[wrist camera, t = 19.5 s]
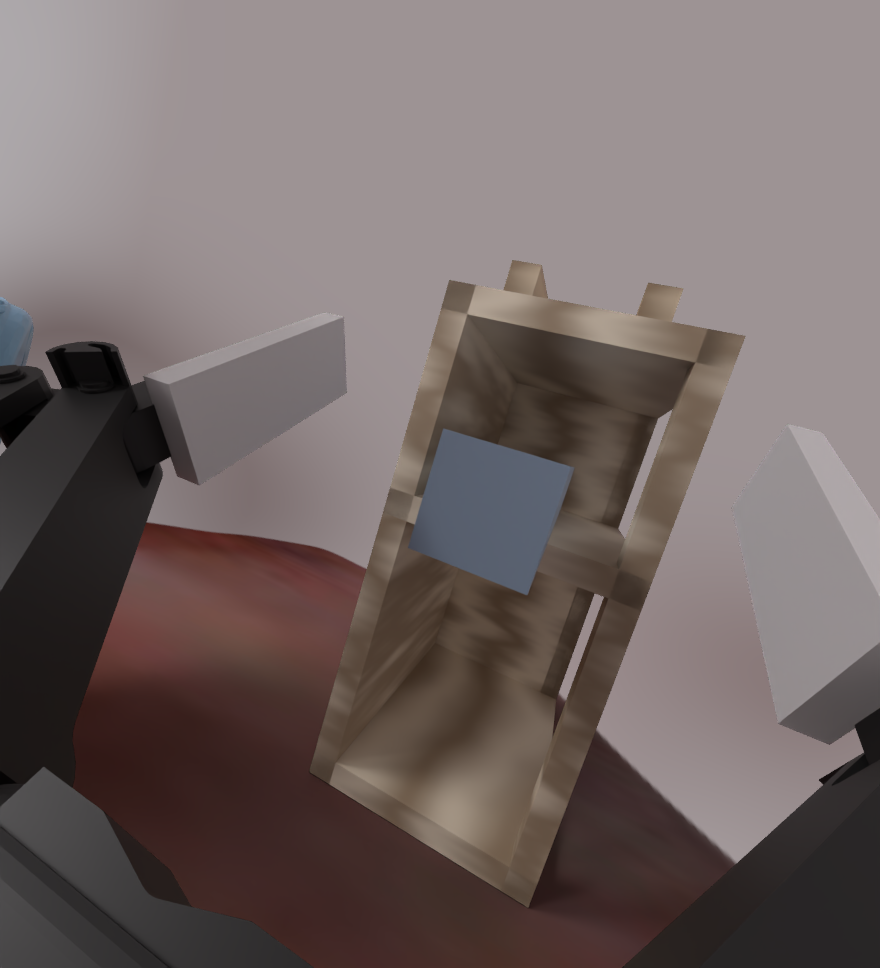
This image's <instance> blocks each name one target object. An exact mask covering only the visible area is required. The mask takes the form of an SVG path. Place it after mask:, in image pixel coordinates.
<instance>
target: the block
mask: <svg viewBox="0 0 880 968" xmlns="http://www.w3.org/2000/svg"><path fill="white" fill-rule="evenodd" d="M574 469H575V468H574V467H571V466H567V465H564V464H561V463H557V462H554V461H551V460H547V459H544V458H541V457H537V456H534V455H531V454H527V453H524V452H521V451H517V450H514V449H511V448H507V447H504V446H501V445H497V444H494V443H491V442H487V441H484V440H481V439H477V438H474V437H470V436H467V435H464V434H460V433H457V432H454V431H450V430H447V429H444V428H443V431H442V434H441V438H440V441H439V444H438V448H437V451H436V455H435V458H434V461H433V465H432V468H431V471H430V475H429V478H428V482H427V485H426V488H425V492H424V495H423V498H422V502H421V505H420V508H419V512H418V515H417V519H416V522H415V525H414V529H413V532H412V535H411V539H410V542H409V546H408V548H410V549H412V550H415V551H417V552H420V553H422V554H425V555H427V556H430V557H432V558H435V559H437V560H440V561H442V562H445V563H447V564H450V565H452V566H455V567H457V568H460V569H462V570H465V571H467V572H470V573H472V574H475V575H477V576H480V577H482V578H485V579H487V580H490V581H492V582H495V583H497V584H500V585H502V586H505V587H507V588H510V589H512V590H515V591H517V592H520V593H522V594H525V595H528V592H529V589H530V587H531V584H532V582H533V579H534V577H535V574H536V571H537V569H538V566H539V564H540V561H541V559H542V556H543V553H544V551H545V548H546V546H547V543H548V541H549V538H550V535H551V533H552V530H553V528H554V525H555V523H556V520H557V517H558V515H559V512H560V510H561V507H562V504H563V501H564V498H565V495H566V492H567V489H568V486H569V483H570V480H571V477H572V474H573V472H574Z"/></svg>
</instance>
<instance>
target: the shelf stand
mask: <svg viewBox="0 0 880 968" xmlns="http://www.w3.org/2000/svg"><path fill="white" fill-rule="evenodd" d="M682 291H683V288H677V287H671V286H665V285H659V284H652V283H648V285H647V288H646V290H645V293H644V296H643V299H642V301H641V304H640V307H639V309H638V312H637V315H632V314H626V313H620V312H615V311H610V310H605V309H599V308H594V307H589V306H584V305H578V304H573V303H568V302H562V301H557V300H552V299H548V296H547V291H546V285H545V280H544V275H543V269H542V265H539V264H533V263H527V262H521V261H514V260H512V264H511V267H510V270H509V274H508V277H507V281H506V284H505V287H504V290H499V289H494V288H489V287H483V286H478V285H473V284H467V283H462V282H457V281H451V280H449V283H448V287H447V290H446V294H445V297H444V301H443V304H442V308H441V311H440V315H439V319H438V322H437V325H436V329H435V332H434V336H433V339H432V343H431V346H430V350H429V353H428V357H427V360H426V364H425V367H424V371H423V374H422V378H421V382H420V385H419V388H418V392H417V395H416V400H415V402H414V406H413V410H412V413H411V416H410V420H409V423H408V427H407V430H406V434H405V438H404V441H403V444H402V448H401V451H400V455H399V458H398V462H397V465H396V469H395V472H394V476H393V479H392V483H391V486H390V490H389V493H388V497H387V501H386V504H385V507H384V511H383V515H382V518H381V522H380V525H379V529H378V533H377V536H376V539H375V543H374V546H373V550H372V553H371V557H370V560H369V564H368V567H367V571H366V574H365V578H364V581H363V585H362V588H361V592H360V595H359V599H358V602H357V606H356V609H355V613H354V616H353V620H352V623H351V627H350V630H349V634H348V637H347V641H346V644H345V648H344V651H343V655H342V658H341V662H340V665H339V669H338V672H337V676H336V679H335V683H334V686H333V690H332V693H331V697H330V700H329V704H328V707H327V711H326V714H325V718H324V721H323V725H322V728H321V732H320V735H319V739H318V742H317V746H316V749H315V753H314V756H313V760H312V763H311V767H310V770H309V772H310V773H312V774H313V775H315V776H317V777H318V778H320V779H321V780H323V781H325V782H326V783H328V784H329V785H331V786H333V787H334V788H336V789H338V790H339V791H341V792H342V793H344V794H346V795H347V796H349V797H350V798H352V799H354V800H355V801H357V802H358V803H360V804H362V805H363V806H365V807H367V808H368V809H370V810H371V811H373V812H375V813H376V814H378V815H379V816H381V817H383V818H384V819H386V820H387V821H389V822H391V823H392V824H394V825H395V826H397V827H399V828H400V829H402V830H404V831H405V832H407V833H408V834H410V835H412V836H413V837H415V838H416V839H418V840H420V841H421V842H423V843H424V844H426V845H428V846H429V847H431V848H433V849H434V850H436V851H437V852H439V853H441V854H442V855H444V856H445V857H447V858H449V859H450V860H452V861H453V862H455V863H457V864H458V865H460V866H462V867H463V868H465V869H466V870H468V871H470V872H471V873H473V874H474V875H476V876H478V877H479V878H481V879H482V880H484V881H486V882H487V883H489V884H490V885H492V886H494V887H495V888H497V889H499V890H500V891H502V892H503V893H505V894H507V895H508V896H510V897H511V898H513V899H515V900H516V901H518V902H519V903H521V904H523V905H524V906H526V907H529V905H530V902H531V899H532V897H533V894H534V891H535V889H536V886H537V884H538V881H539V878H540V876H541V873H542V870H543V868H544V865H545V862H546V860H547V857H548V855H549V852H550V849H551V847H552V844H553V841H554V839H555V836H556V834H557V831H558V828H559V826H560V823H561V820H562V818H563V815H564V812H565V810H566V807H567V805H568V802H569V799H570V797H571V794H572V791H573V789H574V786H575V784H576V781H577V778H578V776H579V773H580V770H581V768H582V765H583V762H584V760H585V757H586V755H587V752H588V749H589V747H590V744H591V741H592V739H593V736H594V734H595V731H596V728H597V726H598V723H599V720H600V718H601V715H602V712H603V710H604V707H605V705H606V702H607V699H608V697H609V694H610V691H611V689H612V686H613V684H614V681H615V678H616V676H617V673H618V670H619V667H620V665H621V662H622V660H623V657H624V655H625V652H626V649H627V646H628V644H629V641H630V639H631V636H632V633H633V631H634V628H635V626H636V623H637V620H638V618H639V615H640V612H641V610H642V607H643V604H644V602H645V599H646V597H647V594H648V591H649V589H650V586H651V584H652V581H653V578H654V576H655V573H656V570H657V568H658V565H659V562H660V560H661V557H662V554H663V552H664V549H665V547H666V544H667V541H668V539H669V536H670V533H671V531H672V528H673V526H674V523H675V520H676V518H677V515H678V512H679V510H680V507H681V504H682V502H683V499H684V496H685V494H686V491H687V489H688V486H689V484H690V481H691V478H692V476H693V473H694V470H695V468H696V465H697V462H698V460H699V457H700V455H701V452H702V449H703V447H704V444H705V441H706V439H707V436H708V434H709V431H710V428H711V426H712V423H713V420H714V418H715V415H716V412H717V410H718V407H719V405H720V402H721V399H722V396H723V394H724V391H725V389H726V386H727V383H728V381H729V378H730V376H731V373H732V370H733V368H734V365H735V362H736V360H737V357H738V355H739V352H740V349H741V346H742V344H743V341H744V339H745V336H743V335H737V334H732V333H727V332H722V331H716V330H711V329H706V328H700V327H695V326H690V325H684V324H679V323H674V322H672V319H673V317H674V314H675V311H676V308H677V305H678V302H679V300H680V297H681V294H682ZM672 409H673V410H672ZM670 410H672V413H671V416H670V418H669V421H668V424H667V427H666V429H665V432H664V435H663V438H662V440H661V443H660V446H659V449H658V451H657V454H656V457H655V459H654V462H653V465H652V468H651V471H650V473H649V476H648V479H647V481H646V484H645V487H644V489H643V492H642V495H641V498H640V500H639V503H638V506H637V509H636V511H635V515H634V517H633V519H632V522H631V525H630V528H629V531H628V533H627V536H626V539H624V537H623V535H622V534H621V532H620V531H619V529H618V527H619V525H620V522H621V519H622V516H623V514H624V511H625V508H626V505H627V502H628V500H629V497H630V494H631V491H632V489H633V486H634V483H635V481H636V478H637V475H638V472H639V469H640V467H641V464H642V461H643V458H644V456H645V453H646V450H647V447H648V445H649V442H650V439H651V436H652V434H653V431H654V428H655V425H656V423H657V420H658V418H659V417H661V416H663V415H664V414H666V413H667V412H669V411H670ZM443 428H444V429H447V430H450V431H454V432H457V433H460V434H464V435H467V436H470V437H474V438H477V439H481V440H484V441H487V442H491V443H494V444H497V445H501V446H504V447H507V448H511V449H514V450H517V451H521V452H524V453H527V454H531V455H534V456H537V457H541V458H544V459H547V460H551V461H554V462H557V463H561V464H564V465H567V466H571V467H574V468H575V469H574V472H573V474H572V477H571V480H570V483H569V486H568V489H567V492H566V495H565V498H564V501H563V504H562V507H561V510H560V512H559V515H558V517H557V520H556V523H555V525H554V528H553V530H552V533H551V535H550V538H549V541H548V543H547V546H546V548H545V551H544V553H543V556H542V559H541V561H540V564H539V566H538V569H537V571H536V574H535V577H534V579H533V582H532V584H531V587H530V589H529V592H528V595H525V594H522V593H520V592H517V591H515V590H512V589H510V588H507V587H505V586H502V585H500V584H497V583H495V582H492V581H490V580H487V579H485V578H482V577H480V576H477V575H475V574H472V573H470V572H467V571H465V570H462V569H460V568H457V567H455V566H452V565H450V564H447V563H445V562H442V561H440V560H437V559H435V558H432V557H430V556H427V555H425V554H422V553H420V552H417V551H415V550H412V549H410V548H408V546H409V542H410V539H411V535H412V532H413V529H414V525H415V522H416V519H417V515H418V512H419V508H420V505H421V502H422V498H423V495H424V492H425V488H426V485H427V482H428V478H429V475H430V471H431V468H432V465H433V461H434V458H435V455H436V451H437V448H438V444H439V441H440V438H441V434H442V431H443ZM594 594H598V595H601V596H603V597H604V599H603V601H602V604H601V607H600V610H599V612H598V615H597V618H596V621H595V623H594V626H593V629H592V631H591V634H590V637H589V640H588V643H587V645H586V648H585V651H584V653H583V656H582V659H581V662H580V664H579V667H578V670H577V672H576V675H575V678H574V681H573V683H572V686H571V689H570V692H569V694H568V697H567V700H566V702H565V705H564V708H563V711H562V713H561V716H560V719H559V722H558V724H557V727H556V730H555V733H554V735H553V726H554V716H555V706H556V699H557V696H558V693H559V690H560V687H561V685H562V682H563V679H564V676H565V674H566V671H567V668H568V665H569V663H570V660H571V657H572V654H573V652H574V649H575V646H576V643H577V641H578V638H579V635H580V632H581V630H582V627H583V624H584V621H585V619H586V615H587V613H588V610H589V607H590V605H591V602H592V599H593V596H594ZM552 735H553V738H552Z"/></svg>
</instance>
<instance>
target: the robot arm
mask: <svg viewBox="0 0 880 968" xmlns="http://www.w3.org/2000/svg"><path fill="white" fill-rule="evenodd" d="M32 337H33V322H32V318H31V316H30V315H29V314H28V313H27V312H26V311H25V310H24V309H21V308H19V307H17V306H15V305H12V304H10V303H9V302H8V301H6V300H5V299H4V298H2V297H0V443H1V440H2V441H3V443H4V445H5V446H6V448H7V449H6V450H5V451H4V452H3V453H2V455H1V456H0V968H313V967H312V966H311V965H309V964H308V963H307V962H305V961H304V960H303V959H301V958H300V957H299V956H297V955H296V954H295V953H293V952H292V951H291V950H289V949H288V948H287V947H285V946H284V945H283V944H281V943H280V942H279V941H277V940H276V939H275V938H273V937H272V936H270V935H269V934H268V933H266V932H265V931H264V930H262V929H261V928H260V927H258V926H257V925H256V924H254V923H253V922H251V921H247V920H243V919H239V918H235V917H231V916H227V915H222V914H218V913H214V912H210V911H206V910H202V909H198V908H194V907H191V905H190V903H189V902H188V900H187V898H186V896H185V895H184V893H183V891H182V889H181V888H180V886H179V884H178V882H177V881H176V879H175V877H174V875H173V874H172V872H171V870H169V869H168V868H167V867H166V866H165V865H164V864H163V863H161V862H160V861H159V860H158V859H157V858H156V857H155V856H154V855H152V854H151V853H150V852H149V851H148V850H147V849H146V848H144V847H143V846H142V845H141V844H140V843H139V842H138V841H137V840H135V839H134V838H133V837H132V836H131V835H130V834H129V833H127V832H126V831H125V830H124V829H123V828H122V827H121V826H120V825H118V824H117V823H116V822H115V821H114V820H113V819H112V818H110V817H109V816H108V815H107V814H106V813H105V812H104V811H102V810H101V809H100V808H98V807H97V806H96V805H94V804H93V803H92V802H90V801H89V800H88V799H86V798H85V797H84V796H82V795H81V794H80V793H78V792H77V791H76V790H74V789H73V788H72V787H73V782H74V778H75V763H76V761H75V755H74V748H73V742H72V738H73V729H74V725H75V721H76V718H77V715H78V712H79V710H80V707H81V704H82V701H83V698H84V696H85V693H86V690H87V687H88V684H89V681H90V679H91V676H92V673H93V670H94V667H95V665H96V662H97V659H98V656H99V653H100V651H101V648H102V645H103V642H104V639H105V637H106V634H107V631H108V628H109V625H110V623H111V620H112V617H113V614H114V611H115V608H116V606H117V603H118V600H119V597H120V594H121V592H122V589H123V586H124V583H125V580H126V578H127V575H128V572H129V569H130V566H131V564H132V561H133V558H134V555H135V552H136V550H137V547H138V544H139V541H140V538H141V535H142V533H143V530H144V527H145V524H146V521H147V518H148V516H149V513H150V510H151V507H152V504H153V502H154V499H155V496H156V493H157V491H158V488H159V485H160V482H161V479H162V476H163V472H162V468H161V466H160V462H161V461H163V460H165V459H167V458H169V457H171V459H172V462H173V465H174V468H175V471H176V474H177V476H178V477H180V478H183V479H185V480H188V481H190V482H193V483H195V484H197V485H201V484H203V483H204V482H206V481H207V480H209V479H210V478H212V477H214V476H215V475H217V474H219V473H220V472H222V471H223V470H225V469H227V468H228V467H230V466H231V465H233V464H234V463H236V462H238V461H239V460H241V459H242V458H244V457H246V456H247V455H249V454H250V453H252V452H254V451H255V450H257V449H258V448H260V447H262V446H263V445H265V444H266V443H268V442H269V441H271V440H273V439H274V438H276V437H277V436H279V435H281V434H282V433H284V432H285V431H287V430H289V429H290V428H292V427H293V426H295V425H297V424H298V423H300V422H301V421H303V420H304V419H306V418H308V417H309V416H311V415H312V414H314V413H315V412H317V411H319V410H320V409H322V408H324V407H325V406H327V405H328V404H330V403H332V402H333V401H335V400H336V399H338V398H339V397H341V396H343V395H344V394H346V393H347V388H346V361H345V337H344V317H342V316H338V315H334V314H330V313H326V312H324V313H321V314H318V315H315V316H313V317H310V318H307V319H304V320H301V321H298V322H295V323H293V324H290V325H287V326H284V327H281V328H278V329H275V330H273V331H270V332H267V333H264V334H261V335H258V336H255V337H252V338H250V339H247V340H244V341H241V342H238V343H235V344H233V345H230V346H227V347H224V348H221V349H218V350H216V351H212V352H210V353H207V354H204V355H201V356H198V357H195V358H192V359H190V360H187V361H184V362H181V363H178V364H175V365H172V366H169V367H167V368H164V369H161V370H158V371H155V372H152V373H149V374H147V375H144V376H143V377H144V380H145V381H143V382H140V383H137V384H134V385H132V386H131V383H130V380H129V378H128V375H127V372H126V369H125V367H124V364H123V361H122V358H121V355H120V353H119V350H118V347H116V346H115V345H113V344H110V343H106V342H93V341H90V342H76V343H70V344H65V345H61V346H57V347H55V348H52V349H50V350H48V351H46V355H47V357H48V359H49V361H50V363H51V365H52V367H53V369H54V372H55V374H56V376H57V378H58V380H59V382H60V384H61V387H62V388H61V389H60V390H59V389H51V387H50V385H49V383H48V381H47V379H46V377H45V375H44V373H43V371H42V370H40V369H38V368H36V367H30V366H26V362H27V358H28V354H29V350H30V346H31V342H32ZM732 512H733V516H734V520H735V526H736V530H737V535H738V539H739V544H740V549H741V553H742V558H743V562H744V567H745V572H746V577H747V581H748V586H749V591H750V595H751V600H752V605H753V609H754V614H755V618H756V623H757V628H758V632H759V637H760V642H761V646H762V651H763V656H764V660H765V665H766V669H767V674H768V679H769V683H770V688H771V693H772V697H773V701H774V707H775V711H776V716H777V721H778V724H780V725H783V726H785V727H788V728H790V729H793V730H795V731H797V732H800V733H803V734H805V735H807V736H810V737H812V738H814V739H817V740H819V741H822V742H824V743H827V744H829V745H830V744H832V743H833V742H834V741H836V740H838V739H839V738H841V737H842V736H844V735H845V734H846V733H848V732H850V731H851V730H853V729H854V728H856V731H857V733H858V736H859V739H860V742H861V745H862V747H863V750H864V753H862V754H861V755H859V756H858V757H856V758H854V759H852V760H851V761H849V762H847V763H846V764H844V765H842V766H841V767H839V768H838V769H836V770H834V771H833V772H831V773H829V774H828V775H826V776H824V777H823V778H821V779H819V781H820V782H821V783H822V784H823V786H822V787H821V788H819V789H818V790H817V791H816V792H815V793H814V794H813V795H812V796H811V797H809V798H808V799H807V800H806V801H805V802H804V803H803V804H802V805H801V806H800V807H798V808H797V809H796V810H795V811H794V812H793V813H792V814H791V815H790V816H789V817H787V819H785V820H784V821H783V822H782V823H781V824H780V825H779V826H778V827H776V828H775V829H774V830H773V831H772V832H771V833H770V834H769V835H768V836H767V837H765V838H764V839H763V840H762V841H761V842H760V843H759V844H758V845H757V846H755V847H754V848H753V849H752V850H751V851H750V852H749V853H748V854H747V855H746V856H744V857H743V858H742V859H741V860H740V861H739V862H738V863H737V864H736V865H735V866H733V867H732V868H731V869H730V870H729V871H728V872H727V873H726V874H725V875H724V876H722V877H721V878H720V879H719V880H718V881H717V882H716V883H715V884H714V885H713V886H711V887H710V888H709V889H708V890H707V891H706V892H705V893H704V894H703V895H702V896H700V897H699V898H698V899H697V900H696V901H695V902H694V903H693V904H692V905H691V906H689V907H688V908H687V909H686V910H685V911H684V912H683V913H682V914H681V915H680V916H678V917H677V918H676V919H675V920H674V921H673V922H672V923H671V924H670V925H669V926H667V927H666V928H665V929H664V930H663V931H662V932H661V933H660V934H659V935H658V936H656V937H655V938H654V939H653V940H652V941H651V942H650V943H649V944H648V945H647V946H645V947H644V948H643V949H642V950H641V951H640V952H639V953H638V954H637V955H636V956H634V957H633V958H632V959H631V960H630V961H629V962H628V963H627V964H626V965H625V966H623V967H622V968H880V519H879V517H878V516H877V514H876V513H875V511H874V510H873V508H872V507H871V505H870V504H869V502H868V501H867V499H866V498H865V496H864V495H863V493H862V492H861V490H860V489H859V487H858V485H857V484H856V483H855V481H854V479H853V478H852V476H851V475H850V474H849V472H848V470H847V469H846V467H845V466H844V464H843V463H842V462H841V460H840V458H839V457H838V456H837V454H836V452H835V451H834V449H833V448H832V446H831V445H830V443H829V442H828V441H827V439H826V437H825V436H824V434H823V433H822V432H818V431H815V430H811V429H806V428H802V427H798V426H794V425H790V424H787V425H786V427H785V428H784V429H783V431H782V432H781V434H780V435H779V437H778V439H777V440H776V441H775V443H774V444H773V446H772V448H771V449H770V451H769V452H768V453H767V455H766V456H765V458H764V459H763V461H762V463H761V464H760V465H759V467H758V469H757V470H756V472H755V473H754V475H753V476H752V477H751V479H750V480H749V482H748V484H747V485H746V487H745V488H744V489H743V491H742V493H741V494H740V496H739V497H738V499H737V500H736V502H735V503H734V505H733V506H732Z"/></svg>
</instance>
